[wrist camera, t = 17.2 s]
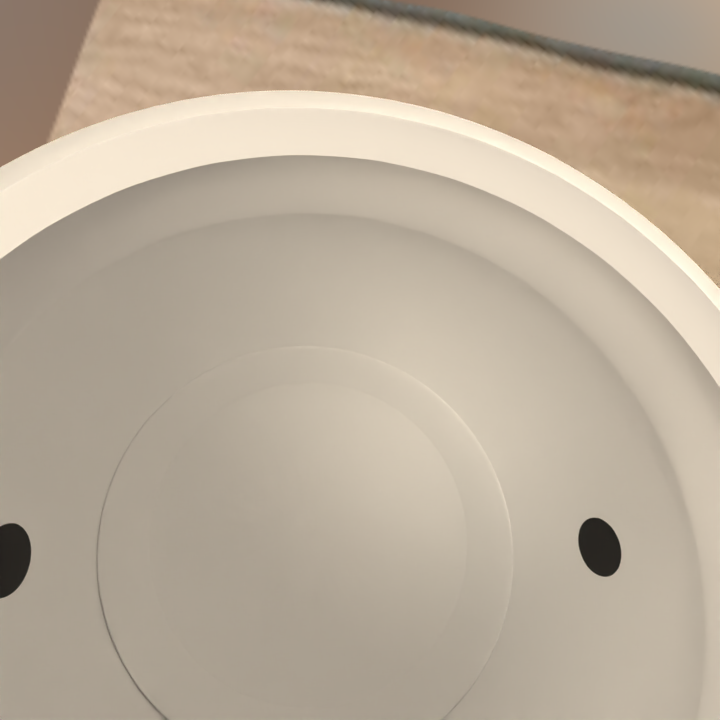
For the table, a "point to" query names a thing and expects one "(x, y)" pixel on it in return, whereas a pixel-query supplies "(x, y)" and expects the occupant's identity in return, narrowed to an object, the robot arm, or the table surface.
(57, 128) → the table surface
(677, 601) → the jar
